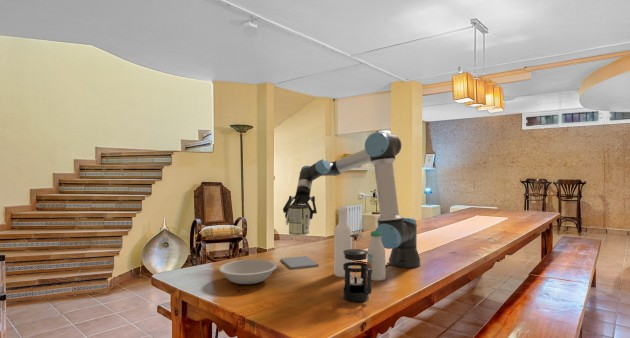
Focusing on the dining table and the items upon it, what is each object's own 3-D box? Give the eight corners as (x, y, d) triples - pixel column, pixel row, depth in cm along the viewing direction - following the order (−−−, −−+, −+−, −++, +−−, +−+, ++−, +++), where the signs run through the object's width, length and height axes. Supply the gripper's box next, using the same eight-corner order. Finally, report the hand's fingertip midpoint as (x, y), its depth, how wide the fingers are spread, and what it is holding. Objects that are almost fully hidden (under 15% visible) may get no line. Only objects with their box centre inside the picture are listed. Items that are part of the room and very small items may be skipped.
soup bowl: (215, 277, 154) (215, 262, 154) (268, 271, 164) (268, 256, 164) (223, 295, 132) (223, 277, 132) (284, 286, 142) (284, 270, 142)
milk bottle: (386, 276, 154) (386, 230, 154) (384, 282, 147) (383, 233, 147) (369, 275, 157) (368, 229, 157) (365, 280, 150) (365, 232, 150)
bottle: (333, 272, 161) (333, 206, 161) (351, 272, 161) (350, 206, 161) (334, 277, 153) (334, 208, 153) (353, 277, 153) (352, 208, 153)
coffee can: (290, 231, 183) (290, 204, 183) (310, 231, 182) (310, 204, 182) (286, 235, 173) (286, 206, 173) (307, 235, 172) (307, 206, 172)
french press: (336, 297, 129) (335, 234, 129) (352, 291, 136) (352, 231, 136) (361, 306, 121) (361, 239, 121) (377, 299, 127) (377, 235, 128)
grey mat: (318, 266, 171) (318, 264, 171) (290, 269, 166) (290, 267, 166) (306, 257, 188) (306, 255, 188) (280, 260, 183) (280, 258, 183)
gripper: (325, 194, 191) (320, 228, 175) (284, 194, 195) (276, 227, 179) (323, 185, 185) (319, 219, 170) (282, 184, 189) (273, 218, 174)
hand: (297, 223), depth 174 cm, fingers closed on coffee can, 10 cm apart
